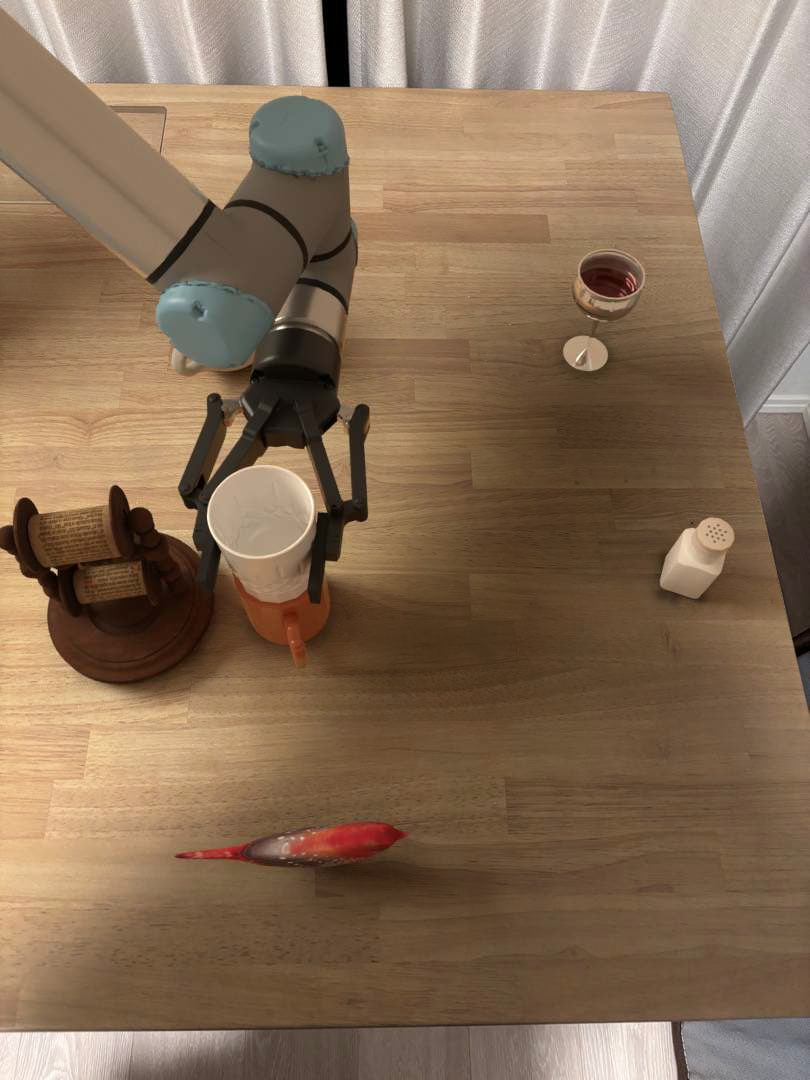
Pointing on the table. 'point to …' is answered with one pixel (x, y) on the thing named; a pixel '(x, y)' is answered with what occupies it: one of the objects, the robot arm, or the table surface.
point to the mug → (287, 619)
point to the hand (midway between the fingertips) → (259, 592)
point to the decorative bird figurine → (311, 846)
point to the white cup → (265, 530)
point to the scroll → (112, 588)
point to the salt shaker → (697, 558)
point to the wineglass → (602, 301)
